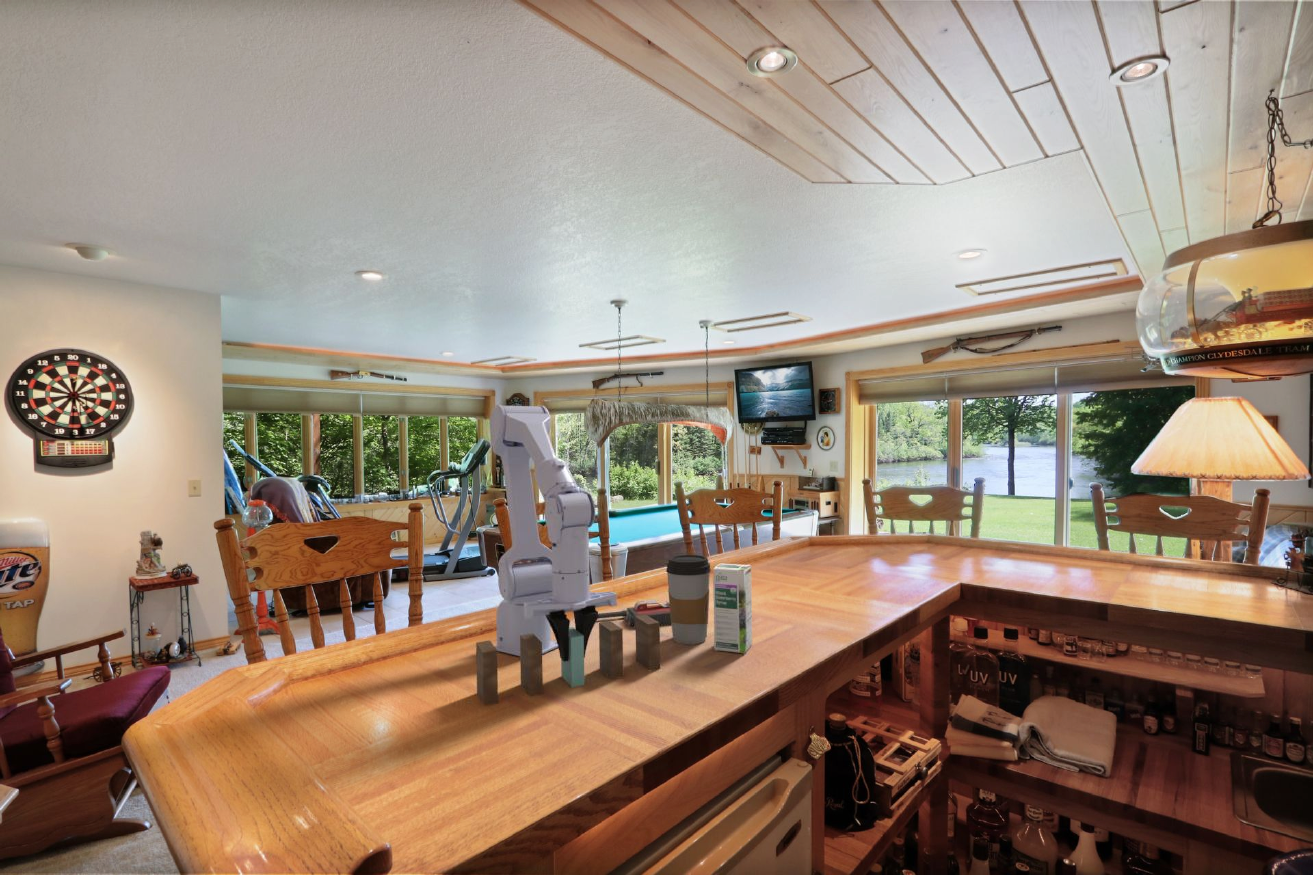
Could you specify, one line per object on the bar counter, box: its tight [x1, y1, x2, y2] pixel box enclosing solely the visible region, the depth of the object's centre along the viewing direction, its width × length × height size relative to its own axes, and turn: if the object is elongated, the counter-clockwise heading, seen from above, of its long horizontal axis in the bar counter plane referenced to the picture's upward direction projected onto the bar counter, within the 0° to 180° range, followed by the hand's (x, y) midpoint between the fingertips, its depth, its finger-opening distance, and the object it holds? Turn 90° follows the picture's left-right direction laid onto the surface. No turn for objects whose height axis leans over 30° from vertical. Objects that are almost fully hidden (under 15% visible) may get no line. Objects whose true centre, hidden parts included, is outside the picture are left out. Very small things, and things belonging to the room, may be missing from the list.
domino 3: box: [560, 626, 585, 688], centre depth 94 cm, size 2×5×8 cm, turn 27°
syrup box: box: [712, 563, 753, 655], centre depth 108 cm, size 6×6×14 cm
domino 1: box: [475, 639, 499, 707], centre depth 88 cm, size 2×5×8 cm, turn 27°
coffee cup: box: [665, 554, 712, 645], centre depth 112 cm, size 8×8×15 cm
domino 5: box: [634, 615, 661, 672], centre depth 100 cm, size 2×5×8 cm, turn 27°
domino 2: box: [519, 633, 544, 697], centre depth 91 cm, size 2×5×8 cm, turn 27°
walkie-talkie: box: [597, 599, 672, 628], centre depth 125 cm, size 9×4×20 cm
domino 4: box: [598, 620, 624, 680], centre depth 97 cm, size 2×5×8 cm, turn 27°
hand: (572, 657), depth 94 cm, fingers closed on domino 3, 2 cm apart
